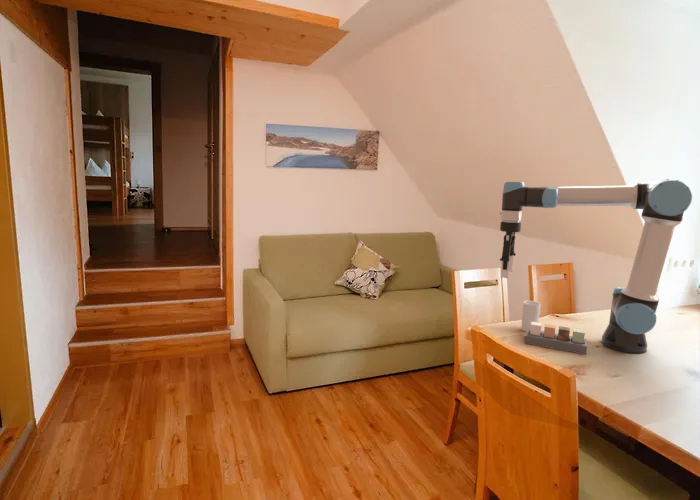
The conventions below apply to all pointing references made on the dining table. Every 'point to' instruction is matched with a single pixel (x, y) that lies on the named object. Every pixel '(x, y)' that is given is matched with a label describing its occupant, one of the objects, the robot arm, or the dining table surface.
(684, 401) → the dining table surface
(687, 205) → the robot arm
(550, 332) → the key terracotta
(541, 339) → the grey slotted rack
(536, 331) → the key ivory
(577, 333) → the key sage
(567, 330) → the key walnut
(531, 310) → the mug
